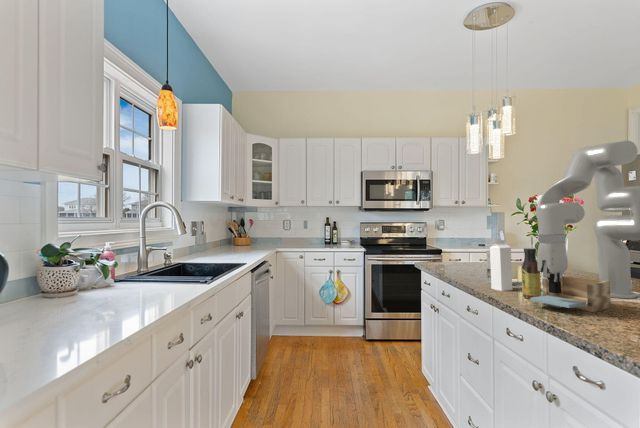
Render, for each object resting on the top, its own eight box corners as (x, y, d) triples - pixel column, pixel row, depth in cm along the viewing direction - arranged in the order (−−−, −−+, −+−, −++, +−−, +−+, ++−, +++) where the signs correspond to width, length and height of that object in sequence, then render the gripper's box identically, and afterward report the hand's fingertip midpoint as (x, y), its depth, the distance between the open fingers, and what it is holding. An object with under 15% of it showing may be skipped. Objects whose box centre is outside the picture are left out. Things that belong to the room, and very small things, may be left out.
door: (547, 300, 124) (547, 295, 124) (585, 307, 113) (585, 302, 113) (530, 302, 120) (530, 297, 120) (568, 310, 109) (568, 304, 109)
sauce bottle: (524, 295, 137) (522, 247, 138) (542, 297, 133) (540, 247, 134) (521, 299, 132) (519, 248, 133) (540, 301, 128) (537, 248, 129)
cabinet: (562, 298, 131) (561, 275, 131) (610, 307, 117) (609, 281, 117) (542, 302, 126) (541, 278, 126) (591, 312, 112) (590, 285, 112)
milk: (512, 290, 149) (511, 240, 149) (501, 291, 147) (500, 240, 147) (501, 287, 154) (500, 239, 155) (490, 288, 153) (489, 240, 153)
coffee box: (498, 285, 159) (497, 251, 159) (487, 283, 165) (485, 250, 165) (512, 283, 162) (510, 250, 163) (500, 281, 168) (498, 249, 169)
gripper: (553, 237, 123) (556, 287, 123) (527, 240, 116) (530, 294, 116) (576, 238, 116) (579, 291, 116) (550, 241, 110) (554, 298, 109)
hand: (555, 292), depth 116 cm, fingers closed
